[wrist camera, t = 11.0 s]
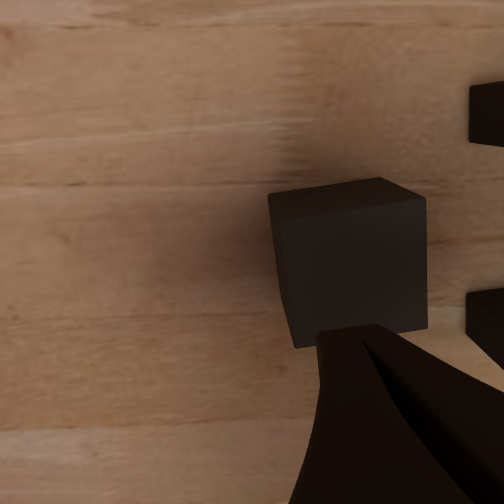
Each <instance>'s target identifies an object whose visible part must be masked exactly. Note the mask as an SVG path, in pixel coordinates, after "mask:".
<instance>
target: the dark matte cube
mask: <svg viewBox="0 0 504 504" xmlns="http://www.w3.org/2000/svg"><path fill="white" fill-rule="evenodd" d="M268 204H269V212H270V219H271V227H272V234H273V242H274V250H275V257H276V265H277V272H278V280H279V287H280V295H281V300H282V304H283V307H284V311H285V315H286V318H287V322H288V326H289V329H290V333H291V336H292V340H293V344H294V347H295V348H296V349H298V348H305V347H311V346H316V338H315V337H316V336H317V335H318V333H319V332H320V331H327V330H334V329H340V328H347V327H354V326H361V325H368V324H374V323H378V324H380V325H382V326H383V327H385V328H387V329H389V330H391V331H392V332H394V333H396V334H397V333H403V332H410V331H417V330H423V329H427V328H428V305H427V232H426V198H425V197H423V196H421V195H418V194H416V193H414V192H412V191H410V190H408V189H405V188H403V187H401V186H399V185H397V184H394V183H392V182H390V181H388V180H386V179H383V178H381V177H379V178H372V179H366V180H359V181H352V182H346V183H339V184H333V185H326V186H319V187H313V188H306V189H299V190H293V191H286V192H279V193H273V194H268Z"/></svg>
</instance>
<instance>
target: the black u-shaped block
mask: <svg viewBox="0 0 504 504" xmlns="http://www.w3.org/2000/svg"><path fill="white" fill-rule="evenodd" d="M469 141H470V142H471V143H478V144H485V145H492V146H499V147H504V81H501V82H494V83H488V84H481V85H474V86H471V87H470V134H469ZM466 334H467V336H468V337H469V338H470V339H471V340H472V341H473V342H475V343H476V344H477V345H478V346H479V347H480V348H481V349H482V350H483V351H484V352H485V353H486V354H487V355H488V356H489V357H490V358H491V359H492V360H493V361H495V362H496V363H497V364H498V365H499V366H500V367H501V368H502V369H503V370H504V288H503V289H496V290H489V291H483V292H476V293H470V294H467V327H466Z"/></svg>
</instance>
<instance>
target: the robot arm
mask: <svg viewBox="0 0 504 504" xmlns="http://www.w3.org/2000/svg"><path fill="white" fill-rule="evenodd" d="M315 338H316V348H317V358H318V368H319V378H320V390H319V396H318V402H317V408H316V414H315V420H314V424H313V429H312V433H311V437H310V441H309V444H308V448H307V451H306V455H305V458H304V461H303V464H302V467H301V470H300V473H299V476H298V479H297V482H296V485H295V488H294V490H293V493H292V496H291V498H290V501H289V503H288V504H504V392H502V391H500V390H498V389H496V388H494V387H492V386H490V385H488V384H486V383H484V382H481V381H479V380H477V379H475V378H473V377H471V376H470V375H468V374H466V373H464V372H462V371H460V370H458V369H456V368H454V367H453V366H451V365H449V364H447V363H445V362H444V361H442V360H440V359H438V358H436V357H435V356H433V355H431V354H429V353H428V352H426V351H424V350H423V349H421V348H419V347H418V346H416V345H414V344H412V343H411V342H409V341H407V340H406V339H404V338H402V337H401V336H399V335H397V334H396V333H394V332H392V331H391V330H389V329H387V328H385V327H383V326H382V325H380V324H378V323H374V324H368V325H361V326H354V327H347V328H340V329H334V330H327V331H320V332H319V333H318V335H317V336H316V337H315Z"/></svg>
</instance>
